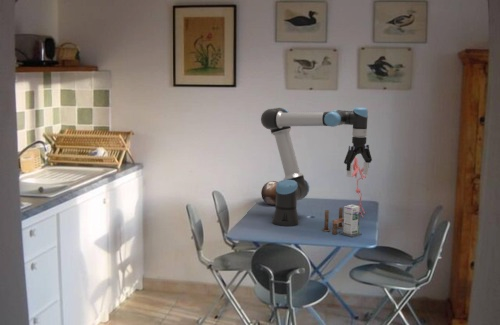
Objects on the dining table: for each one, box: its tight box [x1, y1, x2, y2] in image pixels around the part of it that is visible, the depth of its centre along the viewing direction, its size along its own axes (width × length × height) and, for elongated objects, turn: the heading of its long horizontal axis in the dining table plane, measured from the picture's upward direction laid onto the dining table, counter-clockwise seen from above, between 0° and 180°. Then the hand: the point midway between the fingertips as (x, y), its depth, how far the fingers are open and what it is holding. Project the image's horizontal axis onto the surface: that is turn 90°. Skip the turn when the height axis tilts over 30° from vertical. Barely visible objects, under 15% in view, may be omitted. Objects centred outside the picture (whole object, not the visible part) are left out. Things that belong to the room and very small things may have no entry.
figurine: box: [351, 156, 367, 218], centre depth 354 cm, size 15×26×35 cm, turn 163°
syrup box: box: [343, 204, 361, 235], centre depth 312 cm, size 6×6×14 cm
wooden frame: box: [321, 207, 344, 235], centre depth 320 cm, size 10×15×11 cm, turn 129°
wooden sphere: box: [260, 180, 279, 206], centre depth 377 cm, size 15×15×15 cm
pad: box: [339, 230, 362, 238], centre depth 313 cm, size 8×8×1 cm
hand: (357, 175), depth 324 cm, fingers open, 13 cm apart
